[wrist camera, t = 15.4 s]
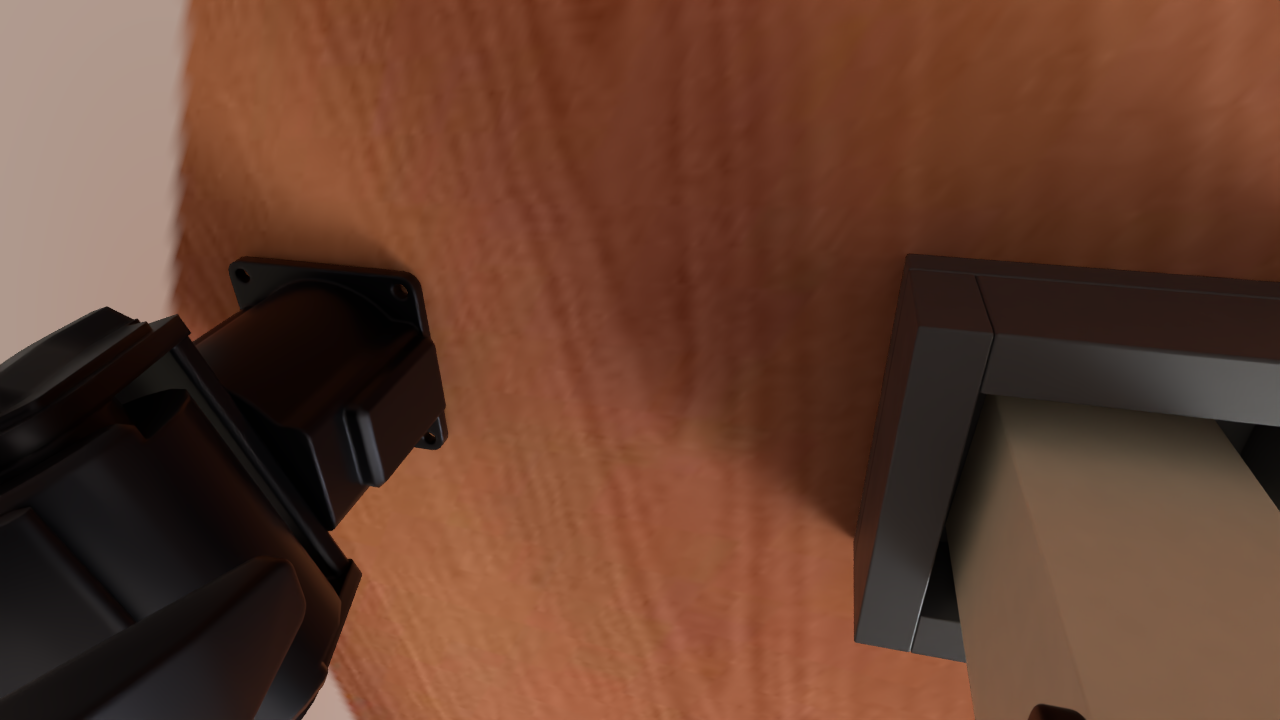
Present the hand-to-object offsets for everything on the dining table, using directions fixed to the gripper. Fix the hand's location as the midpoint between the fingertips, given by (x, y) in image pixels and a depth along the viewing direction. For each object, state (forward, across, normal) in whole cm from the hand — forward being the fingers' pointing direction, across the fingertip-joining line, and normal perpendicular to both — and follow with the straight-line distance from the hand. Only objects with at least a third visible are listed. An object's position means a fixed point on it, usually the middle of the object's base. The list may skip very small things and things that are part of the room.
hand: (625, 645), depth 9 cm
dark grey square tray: (+13, -9, +5) cm, 17 cm away
